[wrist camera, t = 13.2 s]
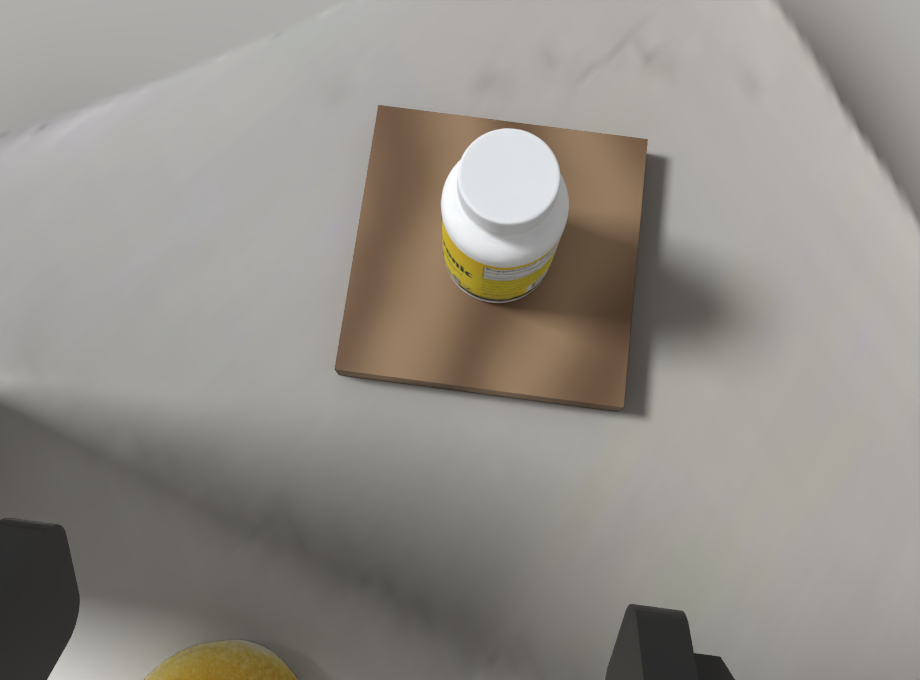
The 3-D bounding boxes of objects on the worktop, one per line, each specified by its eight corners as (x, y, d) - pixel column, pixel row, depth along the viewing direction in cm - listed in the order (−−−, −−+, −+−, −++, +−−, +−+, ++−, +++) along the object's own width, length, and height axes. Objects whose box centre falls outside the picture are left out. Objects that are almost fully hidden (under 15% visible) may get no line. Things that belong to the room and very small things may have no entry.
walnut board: (338, 374, 42) (334, 369, 40) (380, 118, 45) (378, 105, 43) (617, 411, 41) (623, 407, 40) (641, 151, 44) (647, 139, 43)
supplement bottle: (434, 210, 42) (431, 118, 32) (541, 195, 42) (568, 100, 33) (449, 313, 41) (450, 250, 31) (559, 298, 41) (592, 231, 31)
